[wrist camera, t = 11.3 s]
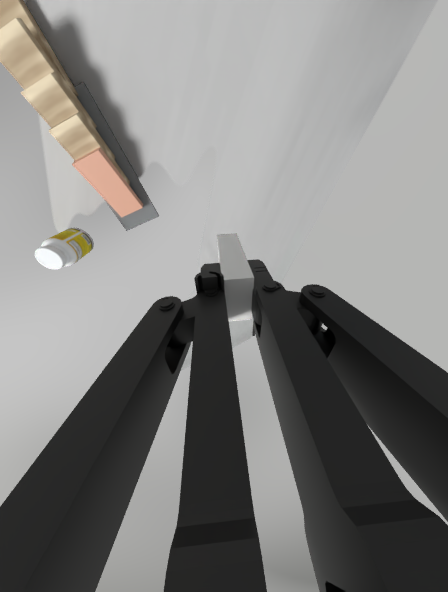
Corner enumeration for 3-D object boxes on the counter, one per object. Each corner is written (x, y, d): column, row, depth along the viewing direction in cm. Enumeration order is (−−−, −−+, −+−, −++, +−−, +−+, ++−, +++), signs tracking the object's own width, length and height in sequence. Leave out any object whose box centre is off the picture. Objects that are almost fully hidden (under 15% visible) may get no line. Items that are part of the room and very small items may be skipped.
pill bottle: (63, 242, 44) (26, 261, 35) (69, 221, 41) (32, 237, 32) (90, 256, 47) (62, 278, 38) (98, 238, 44) (70, 256, 35)
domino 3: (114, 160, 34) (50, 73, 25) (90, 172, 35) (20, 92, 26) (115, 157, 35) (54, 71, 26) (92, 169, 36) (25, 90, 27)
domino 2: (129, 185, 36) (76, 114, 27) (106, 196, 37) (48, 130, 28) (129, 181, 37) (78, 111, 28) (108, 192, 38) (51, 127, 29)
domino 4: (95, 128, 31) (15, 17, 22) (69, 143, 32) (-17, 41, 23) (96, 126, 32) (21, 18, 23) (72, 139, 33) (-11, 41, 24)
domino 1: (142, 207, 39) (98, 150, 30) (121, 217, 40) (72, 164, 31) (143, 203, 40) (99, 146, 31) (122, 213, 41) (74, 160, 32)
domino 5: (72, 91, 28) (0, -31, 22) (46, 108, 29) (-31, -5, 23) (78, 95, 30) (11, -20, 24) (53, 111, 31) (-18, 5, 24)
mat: (159, 216, 42) (158, 216, 42) (127, 230, 43) (126, 230, 43) (83, 82, 29) (82, 82, 29) (41, 109, 31) (40, 108, 30)
